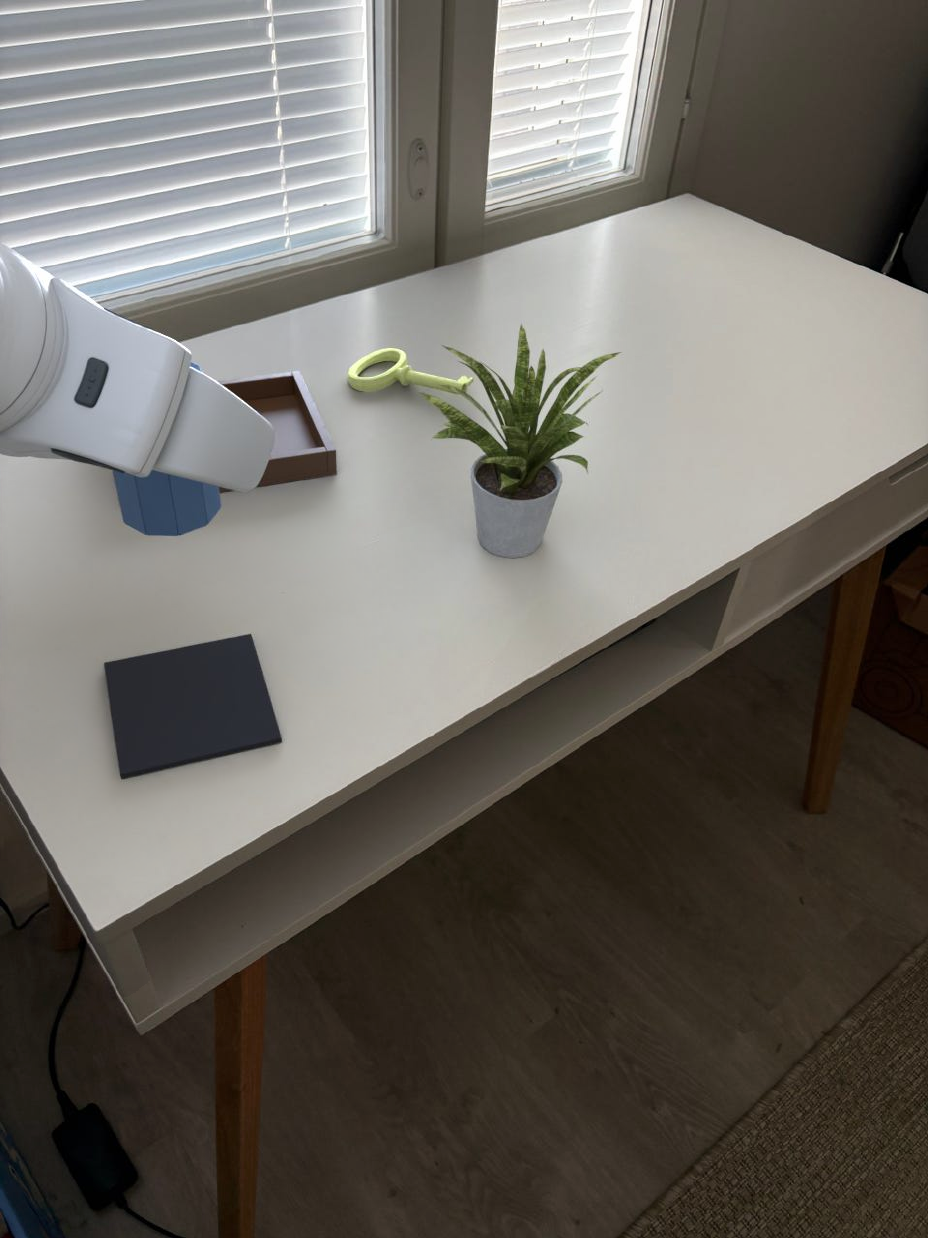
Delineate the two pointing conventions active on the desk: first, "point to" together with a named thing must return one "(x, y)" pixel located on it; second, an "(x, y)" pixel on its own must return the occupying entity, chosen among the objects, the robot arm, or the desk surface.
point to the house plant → (518, 450)
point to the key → (398, 374)
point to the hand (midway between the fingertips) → (166, 435)
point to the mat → (189, 705)
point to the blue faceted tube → (166, 501)
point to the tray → (288, 427)
